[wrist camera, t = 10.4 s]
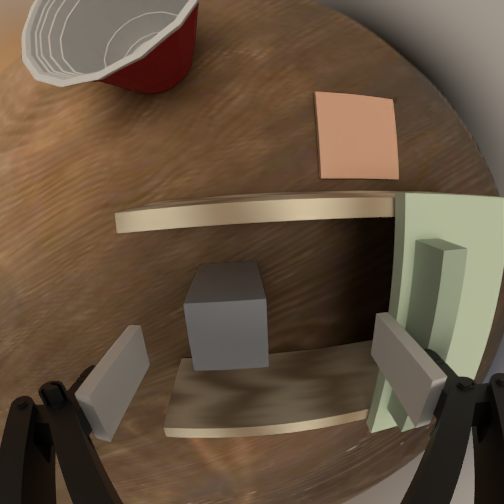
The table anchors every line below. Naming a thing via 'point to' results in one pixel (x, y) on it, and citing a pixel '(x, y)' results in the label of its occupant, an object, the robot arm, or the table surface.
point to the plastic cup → (111, 42)
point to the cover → (442, 284)
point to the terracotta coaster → (355, 136)
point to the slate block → (227, 317)
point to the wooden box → (280, 364)
